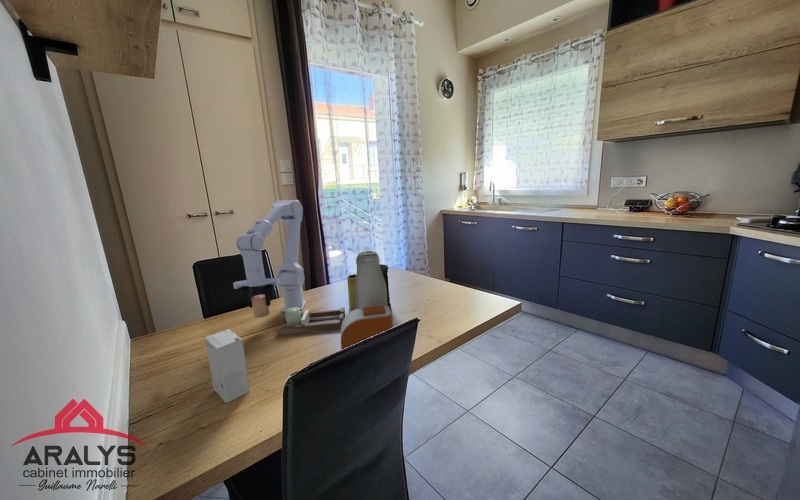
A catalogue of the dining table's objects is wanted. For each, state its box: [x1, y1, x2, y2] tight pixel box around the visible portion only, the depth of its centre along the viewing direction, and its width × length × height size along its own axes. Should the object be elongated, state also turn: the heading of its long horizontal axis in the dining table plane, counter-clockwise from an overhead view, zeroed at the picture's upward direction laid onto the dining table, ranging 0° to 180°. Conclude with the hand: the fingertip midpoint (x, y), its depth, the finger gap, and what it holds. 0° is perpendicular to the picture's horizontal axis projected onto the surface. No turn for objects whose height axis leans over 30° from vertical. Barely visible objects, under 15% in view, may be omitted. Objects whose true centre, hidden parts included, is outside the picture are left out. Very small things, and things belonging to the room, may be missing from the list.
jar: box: [251, 294, 270, 319], centre depth 105 cm, size 5×5×6 cm
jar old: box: [284, 307, 302, 326], centre depth 107 cm, size 5×5×6 cm
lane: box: [276, 307, 346, 336], centre depth 108 cm, size 11×22×4 cm, turn 97°
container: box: [380, 263, 392, 311], centre depth 115 cm, size 9×9×18 cm
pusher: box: [301, 309, 340, 325], centre depth 109 cm, size 8×14×4 cm, turn 97°
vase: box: [346, 273, 357, 313], centre depth 118 cm, size 6×6×14 cm
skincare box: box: [204, 328, 250, 404], centre depth 74 cm, size 8×6×15 cm
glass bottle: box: [354, 250, 387, 309], centre depth 98 cm, size 10×10×28 cm
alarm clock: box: [340, 305, 393, 351], centre depth 88 cm, size 15×8×14 cm, turn 100°
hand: (260, 305), depth 105 cm, fingers closed on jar, 5 cm apart
